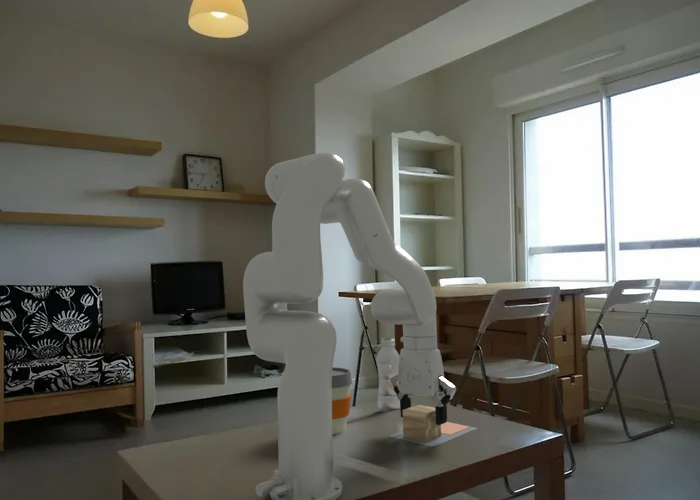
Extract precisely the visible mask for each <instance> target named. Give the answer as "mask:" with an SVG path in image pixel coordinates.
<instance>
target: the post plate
mask: <svg viewBox="0 0 700 500" xmlns="http://www.w3.org/2000/svg"><path fill="white" fill-rule="evenodd" d="M477 429H478V427H473V426H469V425H463V424H459V423H454V422H449V421H447V422H446V423H444V424H441V436H440V437H438V438H435V439H433V440H430V441H428V442H421V441H417V440H413V439H409V438H405V437H403V430H402V431H400V432H396V433H394V434H391V435H388V437H390V438H395V439H398V440H402V441H406V442H410V443H414V444H418V445H422V446H427V447H431V448H434V447H437V446H439V445H442V444H445V443H447V442H448V441H450V440H453V439H455V438H459V437H460V436H463V435H465V434H468V433H471V432H472V431H475V430H477Z"/></svg>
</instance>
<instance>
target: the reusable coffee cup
mask: <svg viewBox="0 0 700 500" xmlns="http://www.w3.org/2000/svg"><path fill="white" fill-rule="evenodd" d="M352 381H353V380H352V373H351V370H350V369H348V368H344V367H337V366H336V367H335V366H334V367H333V368H332V435H337V434H340V433H343V432H345V431H346V429H347V421H348V416H349V414H350V410H351V409H350V407H351V400H352V395H351V391H350V390H351V385H352V383H353V382H352Z"/></svg>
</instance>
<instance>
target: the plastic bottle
mask: <svg viewBox="0 0 700 500" xmlns="http://www.w3.org/2000/svg"><path fill="white" fill-rule="evenodd" d="M380 341H381V342H380V346H381V349H380V350H379V352H377V354H376V366H377V372H378V373H377V374H378V383H379V384H378V395H377V396H378V397H377V408H378V409H379V411H380V412H382V413H388V412H392V411H395V410H400V400H399V399H398V398H397V396H398V395H397V394H396V393H395V391H394V389H393V388H394V387H393V386H392V383H391V380H390V379H391V378H392V377H394V376H396V375H398V366H399V357H400V353H398V351H397V350H396V348H395V346H396V343H395V341H396V340H395V338H393V337H392V338H391V337H390V338H389V337H384V338H381V339H380Z"/></svg>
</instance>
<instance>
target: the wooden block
mask: <svg viewBox="0 0 700 500" xmlns="http://www.w3.org/2000/svg"><path fill="white" fill-rule="evenodd" d="M435 408H436V407H433V406H428V405H421V404H417V405H414V406H411V407H410V408H407V409H404V410H403V418H402V431H403V437H405V438H409V439H413V440H417V441H421V442H428V441H430V440H433V439H435V438H438V437H440V436H441V425H437V424H436V411H435Z"/></svg>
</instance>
